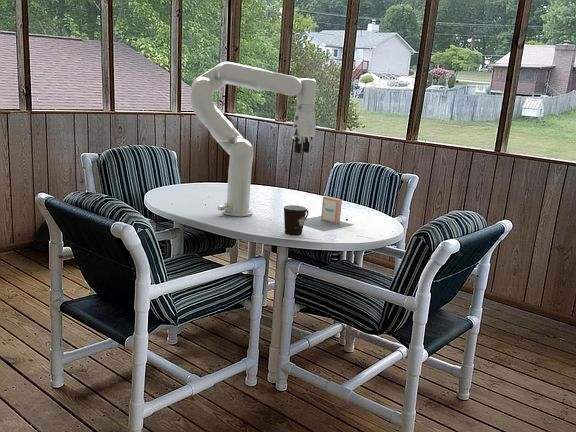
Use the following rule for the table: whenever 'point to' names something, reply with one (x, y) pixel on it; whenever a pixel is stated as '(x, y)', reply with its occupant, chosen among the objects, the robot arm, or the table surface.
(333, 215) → the wooden picture frame
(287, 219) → the coffee mug
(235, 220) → the table surface
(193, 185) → the table surface
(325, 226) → the mat
